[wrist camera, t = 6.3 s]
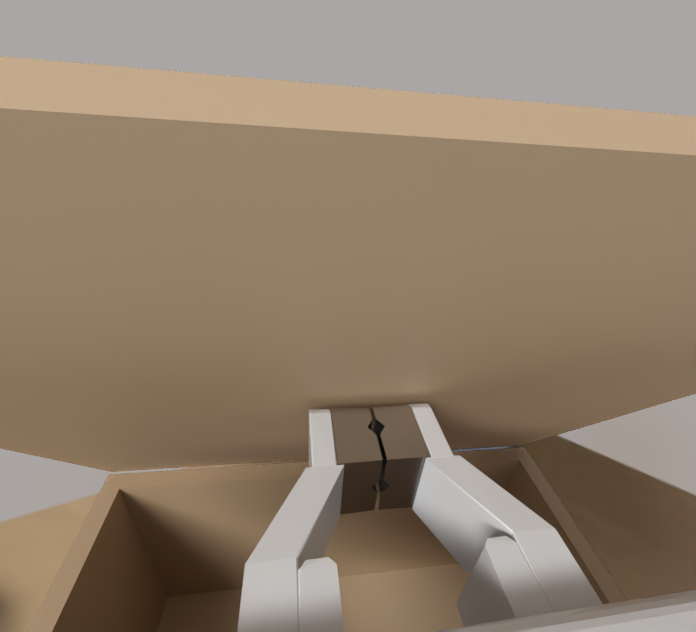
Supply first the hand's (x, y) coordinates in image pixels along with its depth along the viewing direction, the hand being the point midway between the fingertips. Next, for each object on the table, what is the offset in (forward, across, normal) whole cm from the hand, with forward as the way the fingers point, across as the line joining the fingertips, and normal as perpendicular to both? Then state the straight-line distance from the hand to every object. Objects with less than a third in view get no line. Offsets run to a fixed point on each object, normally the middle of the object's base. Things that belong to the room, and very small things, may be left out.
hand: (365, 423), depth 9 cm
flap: (+1, 0, +1) cm, 1 cm away
